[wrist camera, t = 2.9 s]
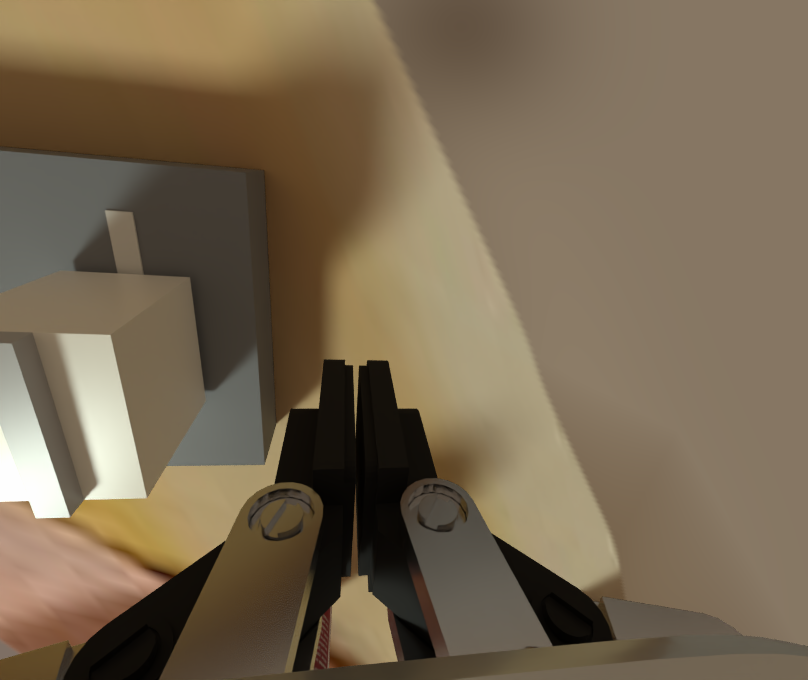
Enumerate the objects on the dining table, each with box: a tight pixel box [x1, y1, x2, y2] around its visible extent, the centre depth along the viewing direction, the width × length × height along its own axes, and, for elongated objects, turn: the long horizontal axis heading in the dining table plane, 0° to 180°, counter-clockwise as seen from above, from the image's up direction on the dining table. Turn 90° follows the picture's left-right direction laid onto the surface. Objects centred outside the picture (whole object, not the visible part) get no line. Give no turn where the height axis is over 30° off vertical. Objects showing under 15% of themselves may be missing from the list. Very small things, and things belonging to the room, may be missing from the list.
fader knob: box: [0, 270, 206, 518], centre depth 12 cm, size 4×5×6 cm
